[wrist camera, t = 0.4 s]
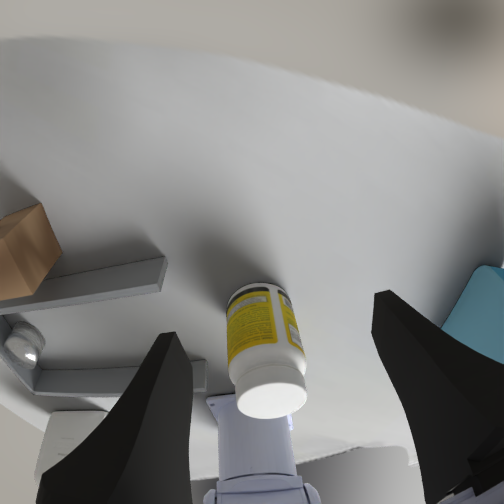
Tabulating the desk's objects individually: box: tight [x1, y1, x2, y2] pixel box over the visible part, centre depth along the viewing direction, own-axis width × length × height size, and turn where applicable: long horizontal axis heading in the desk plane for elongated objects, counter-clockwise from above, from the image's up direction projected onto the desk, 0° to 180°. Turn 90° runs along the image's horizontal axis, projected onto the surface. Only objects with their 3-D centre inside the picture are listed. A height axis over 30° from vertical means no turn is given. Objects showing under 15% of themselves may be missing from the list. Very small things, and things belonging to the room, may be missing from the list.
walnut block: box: [0, 203, 63, 301], centre depth 17 cm, size 4×4×5 cm
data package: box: [441, 265, 504, 364], centre depth 21 cm, size 12×4×12 cm, turn 169°
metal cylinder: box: [4, 322, 45, 369], centre depth 23 cm, size 4×4×3 cm
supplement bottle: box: [226, 283, 307, 419], centre depth 20 cm, size 5×5×8 cm
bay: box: [0, 257, 208, 397], centre depth 23 cm, size 11×19×3 cm, turn 100°
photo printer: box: [35, 411, 109, 488], centre depth 26 cm, size 10×4×12 cm, turn 104°
